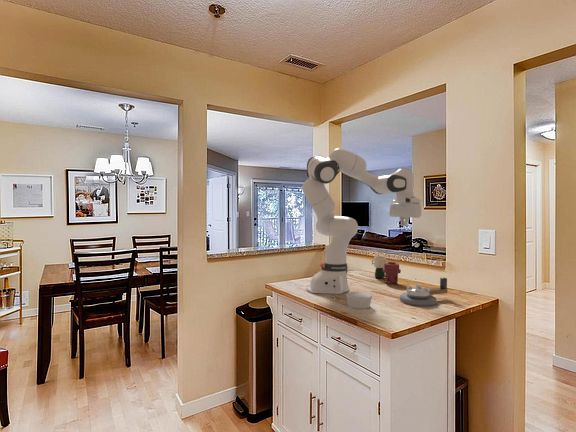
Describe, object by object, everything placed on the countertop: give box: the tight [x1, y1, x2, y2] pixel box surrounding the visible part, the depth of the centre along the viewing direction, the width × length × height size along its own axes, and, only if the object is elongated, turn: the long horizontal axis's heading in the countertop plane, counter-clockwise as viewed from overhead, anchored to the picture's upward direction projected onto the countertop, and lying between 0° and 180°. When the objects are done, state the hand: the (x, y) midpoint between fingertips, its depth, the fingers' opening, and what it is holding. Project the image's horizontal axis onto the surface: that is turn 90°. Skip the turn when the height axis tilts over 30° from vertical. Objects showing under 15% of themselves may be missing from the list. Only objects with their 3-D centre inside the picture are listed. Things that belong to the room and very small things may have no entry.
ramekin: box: [345, 291, 373, 310], centre depth 149 cm, size 11×11×5 cm
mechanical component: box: [383, 261, 402, 285], centre depth 195 cm, size 12×10×10 cm
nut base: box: [399, 292, 438, 307], centre depth 158 cm, size 16×16×2 cm
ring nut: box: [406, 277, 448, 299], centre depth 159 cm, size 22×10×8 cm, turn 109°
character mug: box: [371, 255, 390, 279], centre depth 209 cm, size 11×7×13 cm, turn 55°
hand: (404, 225), depth 179 cm, fingers closed
